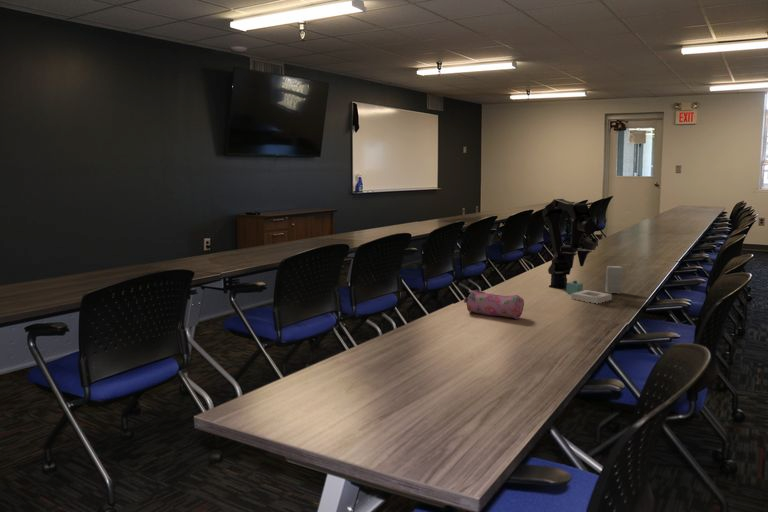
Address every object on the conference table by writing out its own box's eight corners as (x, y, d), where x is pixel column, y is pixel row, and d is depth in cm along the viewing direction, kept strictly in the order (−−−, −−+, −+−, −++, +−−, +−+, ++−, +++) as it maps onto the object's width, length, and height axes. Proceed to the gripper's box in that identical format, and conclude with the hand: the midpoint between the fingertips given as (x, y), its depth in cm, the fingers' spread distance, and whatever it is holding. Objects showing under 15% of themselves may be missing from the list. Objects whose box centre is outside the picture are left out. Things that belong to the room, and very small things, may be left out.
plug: (566, 293, 271) (566, 280, 270) (572, 292, 275) (572, 279, 274) (576, 295, 268) (577, 282, 267) (582, 294, 271) (583, 281, 270)
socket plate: (571, 299, 260) (571, 293, 260) (585, 295, 268) (585, 289, 268) (597, 304, 251) (597, 298, 251) (611, 300, 259) (611, 294, 259)
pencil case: (462, 314, 233) (463, 290, 232) (473, 309, 240) (474, 287, 239) (515, 322, 221) (517, 298, 220) (525, 317, 229) (526, 293, 227)
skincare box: (618, 292, 276) (620, 266, 275) (621, 293, 272) (622, 267, 270) (604, 291, 277) (606, 265, 275) (607, 293, 273) (608, 267, 271)
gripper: (583, 234, 255) (582, 271, 257) (605, 232, 268) (603, 267, 270) (560, 232, 263) (558, 268, 265) (582, 230, 276) (580, 264, 278)
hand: (576, 267), depth 269 cm, fingers open, 9 cm apart
